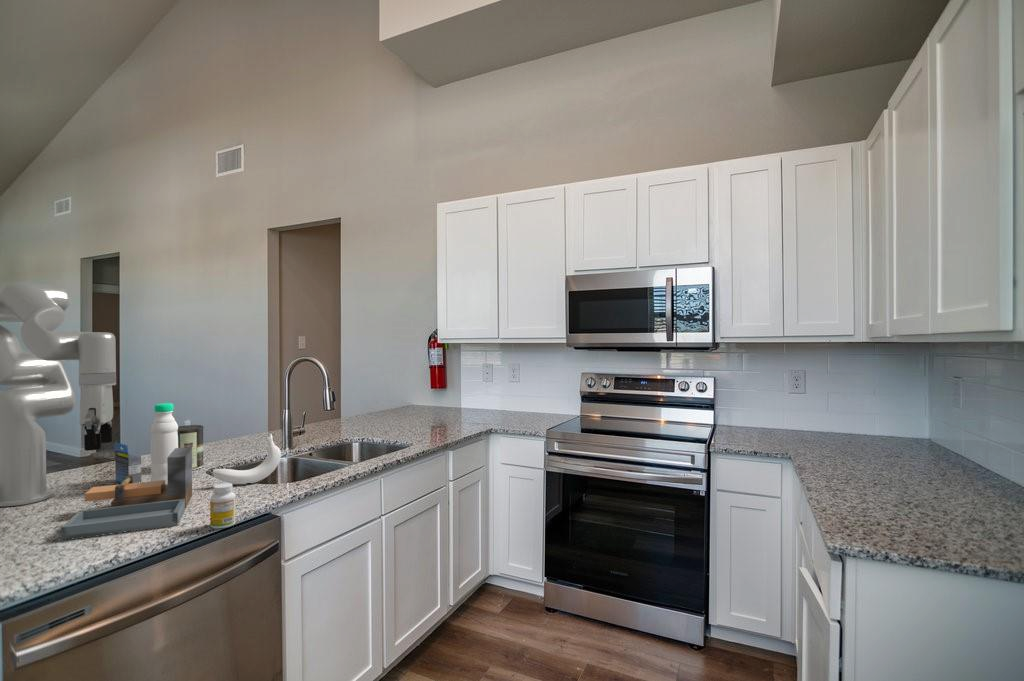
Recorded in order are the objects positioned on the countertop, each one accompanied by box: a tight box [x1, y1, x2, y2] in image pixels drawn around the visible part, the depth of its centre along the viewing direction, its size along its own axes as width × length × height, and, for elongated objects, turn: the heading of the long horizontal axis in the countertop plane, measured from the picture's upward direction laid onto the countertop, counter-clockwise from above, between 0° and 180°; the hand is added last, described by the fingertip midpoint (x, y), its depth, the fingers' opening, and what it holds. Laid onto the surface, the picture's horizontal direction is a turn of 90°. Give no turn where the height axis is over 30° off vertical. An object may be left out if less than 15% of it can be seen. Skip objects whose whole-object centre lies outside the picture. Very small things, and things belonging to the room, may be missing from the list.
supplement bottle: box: [209, 482, 237, 529], centre depth 125 cm, size 5×5×10 cm
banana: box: [212, 432, 282, 485], centre depth 159 cm, size 5×19×15 cm, turn 128°
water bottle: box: [149, 402, 179, 484], centre depth 157 cm, size 7×7×25 cm
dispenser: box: [110, 447, 193, 510], centre depth 138 cm, size 16×12×14 cm
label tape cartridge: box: [114, 441, 142, 484], centre depth 160 cm, size 9×4×12 cm, turn 59°
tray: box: [60, 499, 186, 541], centre depth 125 cm, size 22×12×3 cm, turn 115°
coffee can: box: [177, 424, 205, 471], centre depth 176 cm, size 10×10×14 cm
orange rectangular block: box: [84, 480, 165, 502], centre depth 136 cm, size 16×6×2 cm, turn 115°
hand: (99, 446), depth 133 cm, fingers open, 9 cm apart
